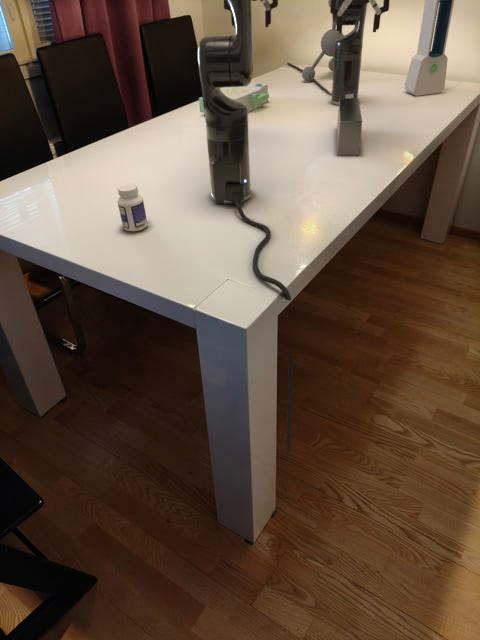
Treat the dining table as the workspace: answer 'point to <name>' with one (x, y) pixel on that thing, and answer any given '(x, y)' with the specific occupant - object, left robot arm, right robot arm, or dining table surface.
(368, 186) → the dining table surface
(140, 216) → the pill bottle
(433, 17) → the electronic device
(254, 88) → the decorative block
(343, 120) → the bar
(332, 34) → the molecular model
